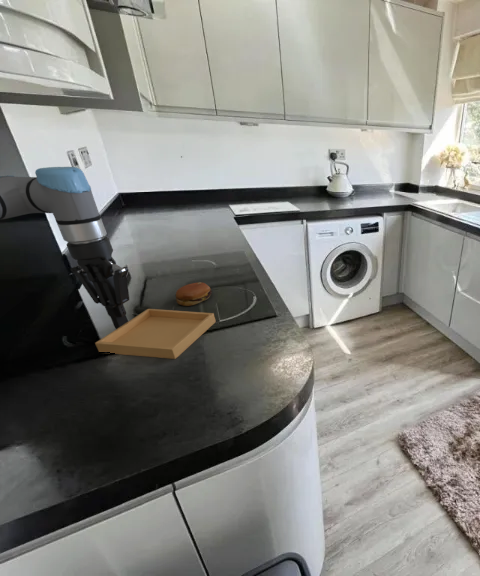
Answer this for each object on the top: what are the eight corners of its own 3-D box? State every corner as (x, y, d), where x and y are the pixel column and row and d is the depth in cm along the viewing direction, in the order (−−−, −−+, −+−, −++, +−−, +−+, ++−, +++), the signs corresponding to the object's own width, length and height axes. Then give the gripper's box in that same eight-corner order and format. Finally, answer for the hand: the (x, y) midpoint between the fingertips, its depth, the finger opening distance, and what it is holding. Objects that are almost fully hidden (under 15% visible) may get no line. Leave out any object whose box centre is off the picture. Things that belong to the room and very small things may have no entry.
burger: (172, 307, 97) (168, 294, 95) (184, 294, 105) (180, 281, 103) (207, 305, 99) (204, 291, 97) (216, 292, 107) (213, 279, 105)
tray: (99, 352, 77) (94, 343, 76) (151, 317, 92) (148, 308, 91) (175, 359, 76) (172, 349, 74) (215, 321, 91) (213, 313, 89)
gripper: (126, 235, 76) (156, 320, 87) (77, 233, 78) (111, 317, 88) (98, 245, 70) (133, 336, 80) (44, 242, 71) (86, 332, 81)
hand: (122, 326), depth 84 cm, fingers closed
